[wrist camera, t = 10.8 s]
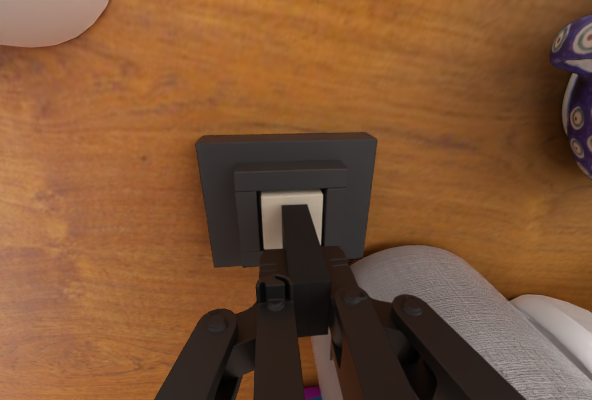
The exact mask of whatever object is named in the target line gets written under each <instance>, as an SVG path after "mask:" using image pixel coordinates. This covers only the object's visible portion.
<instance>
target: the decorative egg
mask: <svg viewBox="0 0 592 400" xmlns="http://www.w3.org/2000/svg"><path fill="white" fill-rule="evenodd" d="M304 393H305V400H322V397H321V392H320V387H319V386H313V387H307V388H304Z"/></svg>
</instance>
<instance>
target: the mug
mask: <svg viewBox="0 0 592 400" xmlns="http://www.w3.org/2000/svg"><path fill="white" fill-rule="evenodd" d="M509 302H510V303H511V304H512V305H513V306H514V307H515V308H516V309H517V310H519V311H520V312H521V313H522V314H523V315H524V316H525V317H526V318H527V319H528V320H529V321H530V322H531V323H532V324H533V325H534V326H535V327H536V328H537V329H538V330H539V331H540V332H541V333H542V334H543V335H544V336H545V337H547V338H548V339H549V340H550V341H551V342H552V343H553V344H554V345H555V346H556V347H557V348H558V349H559V350H560V351H561V352H562V353H563V354H564V355H565V356H566V357H567V358H568V359H570V360H571V361H572V362H573V363H574V364H575V365H576V366H577V367H578V368H579V369H580V370H581V371H582V372H583V373H584V374H585V375H586V376H587V377H588V378H589V379H590V380H592V313H591V312H590V311H588V310H586V309H583V308H581V307H578V306H576V305H573V304H571V303H569V302H566V301H562V300H558V299H555V298H552V297H548V296H544V295H531V294H527V295H521V296H519V297H517V298H514V299H512V300H510V301H509Z"/></svg>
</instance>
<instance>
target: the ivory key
mask: <svg viewBox="0 0 592 400" xmlns="http://www.w3.org/2000/svg"><path fill="white" fill-rule="evenodd" d="M301 204H307V205H308V208H309V211H310V214H311V217H312V221H313V224H314V227H315V230H316V233H317V236H318V240H319V243H320V246H321V232H322V209H323V194H322V192H321V190H320V188H317V189H291V190H265V191H261V208H262V226H263V243H264V249H282V248H283V246H282V208H281V205H301Z"/></svg>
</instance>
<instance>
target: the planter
mask: <svg viewBox="0 0 592 400" xmlns="http://www.w3.org/2000/svg"><path fill="white" fill-rule="evenodd" d="M350 268H351V270H352V272H353V274H354V277H355V279H356V281H357V284H358V286H359V287H360V288H362V289H363V290H365V291H366V292H367V294H368V295H369V297H371V298H373V299H376V300H380V301H385V302H391V303H392V301H393V299H394V298H395V297H396V296H398V295H402V294H408V295H414V296H416V297H418V298H420V299H422V300H423V301H424V302H426V303H427V304H428V305H429V306H430V307H431V308H432V309H433V310H434V311H435V312H436V313H437V314H438V315H439V316H440V317H441V318H443V319H444V320H445V321H446V322H447V323H448V324H449V325H450V326H451V327H452V328H453V329H454V330H455V331H456V332H457V333H458V334H459V335H460V336H461V337H462V338H463V339H464V340H465V341H466V342H467V343H468V344H469V345H470V346H471V347H472V348H474V349H475V350H476V351H477V352H478V353H479V354H480V355H481V356H482V357H483V358H484V359H485V360H486V361H487V362H488V363H489V364H490V365H491V366H492V367H493V368H494V369H495V370H496V371H497V372H498V373H499V374H500V375H501V376H502V377H503V378H505V379H506V380H507V381H508V382H509V383H510V384H511V385H512V386H513V387H514V388H515V389H516V390H517V391H518V392H519V393H520V394H521V395H522V396H523V397H524V398H525V399H526V400H592V380H590V379H589V378H588V377H587V376H586V375H585V374H584V373H583V372H582V371H581V370H580V369H579V368H578V367H577V366H576V365H575V364H574V363H573V362H572V361H571V360H570V359H568V358H567V357H566V356H565V355H564V354H563V353H562V352H561V351H560V350H559V349H558V348H557V347H556V346H555V345H554V344H553V343H552V342H551V341H550V340H549V339H548V338H547V337H545V336H544V335H543V334H542V333H541V332H540V331H539V330H538V329H537V328H536V327H535V326H534V325H533V324H532V323H531V322H530V321H529V320H528V319H527V318H526V317H525V316H524V315H523V314H522V313H521V312H520V311H519V310H517V309H516V308H515V307H514V306H513V305H512V304H511V303H510V302H509V301H508V300H507V299H506V298H505V297H504V296H503V295H502V294H501V293H500V292H499V291H498V290H497V289H496V288H495V287H494V286H492V285H491V284H490V283H489V282H488V281H487V280H486V279H485V278H484V277H483V276H482V275H481V274H480V273H479V272H478V271H477V270H476V269H475V268H474V267H472V266H471V265H470V264H469V263H467V262H466V261H465V260H463V259H462V258H460V257H459V256H457V255H455V254H454V253H452V252H450V251H447V250H444V249H441V248H438V247H432V246H425V245H408V246H400V247H394V248H389V249H385V250H382V251H379V252H376V253H373V254H371V255H369V256H366V257H364V258H362V259H360V260H358V261H356V262H355V263H353V264H352V265H350ZM311 343H312V349H313V354H314V360H315V365H316V370H317V376H318V381H319V387H320V392H321V397H322V400H343V397H342V393H341V389H340V384H339V380H338V376H337V372H336V367H335V363H334V359H333V360H331V361H330V345H331V333H330V329H328V335H318V336H311Z"/></svg>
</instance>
